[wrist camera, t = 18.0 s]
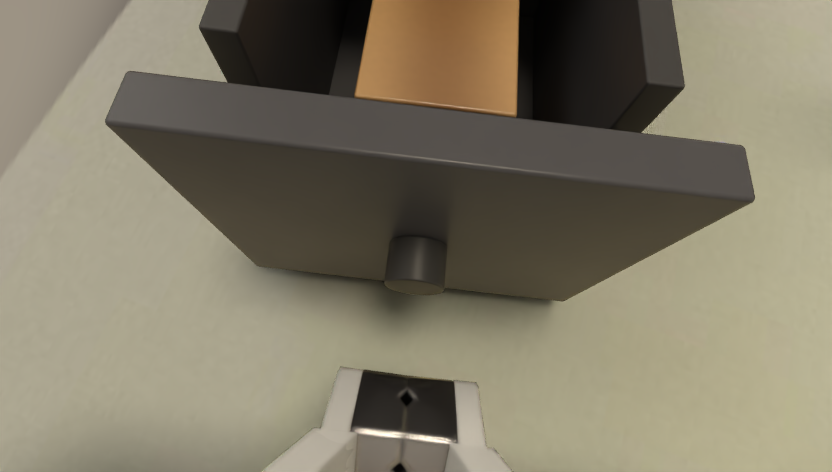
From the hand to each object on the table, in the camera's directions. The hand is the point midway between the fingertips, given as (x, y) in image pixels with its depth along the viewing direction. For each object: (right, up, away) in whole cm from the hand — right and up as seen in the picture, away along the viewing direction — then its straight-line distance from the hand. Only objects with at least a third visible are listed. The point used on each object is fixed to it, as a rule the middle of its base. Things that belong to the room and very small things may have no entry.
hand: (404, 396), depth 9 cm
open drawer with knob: (+1, +7, +9) cm, 11 cm away
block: (+1, +7, +7) cm, 10 cm away
